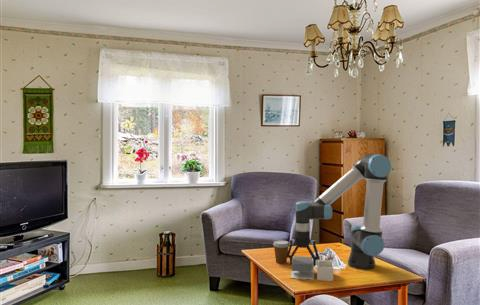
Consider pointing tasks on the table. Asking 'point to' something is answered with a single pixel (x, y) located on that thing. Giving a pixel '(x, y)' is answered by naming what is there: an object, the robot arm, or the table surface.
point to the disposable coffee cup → (281, 251)
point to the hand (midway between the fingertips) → (302, 271)
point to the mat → (302, 275)
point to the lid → (302, 264)
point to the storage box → (325, 270)
